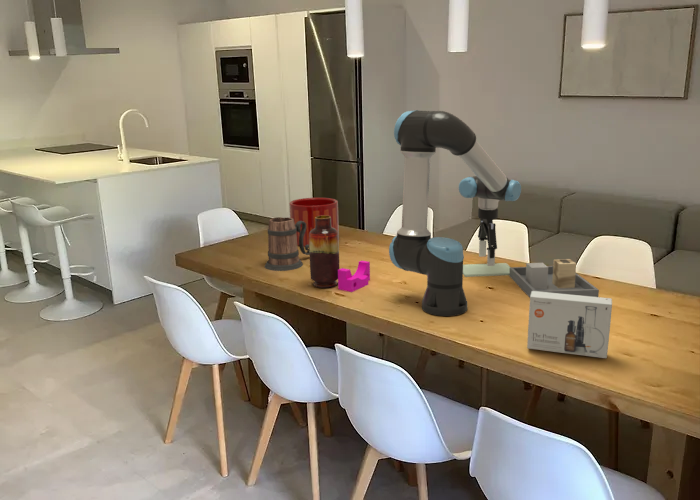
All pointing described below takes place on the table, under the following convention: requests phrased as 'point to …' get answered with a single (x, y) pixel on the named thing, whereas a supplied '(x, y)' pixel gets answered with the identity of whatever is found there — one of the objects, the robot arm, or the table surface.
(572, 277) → the maple box
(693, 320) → the table surface
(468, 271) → the mat
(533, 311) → the skincare box
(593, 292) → the parts bin
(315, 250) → the vase
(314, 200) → the planter
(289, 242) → the tankard
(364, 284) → the toy block
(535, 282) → the grey box
